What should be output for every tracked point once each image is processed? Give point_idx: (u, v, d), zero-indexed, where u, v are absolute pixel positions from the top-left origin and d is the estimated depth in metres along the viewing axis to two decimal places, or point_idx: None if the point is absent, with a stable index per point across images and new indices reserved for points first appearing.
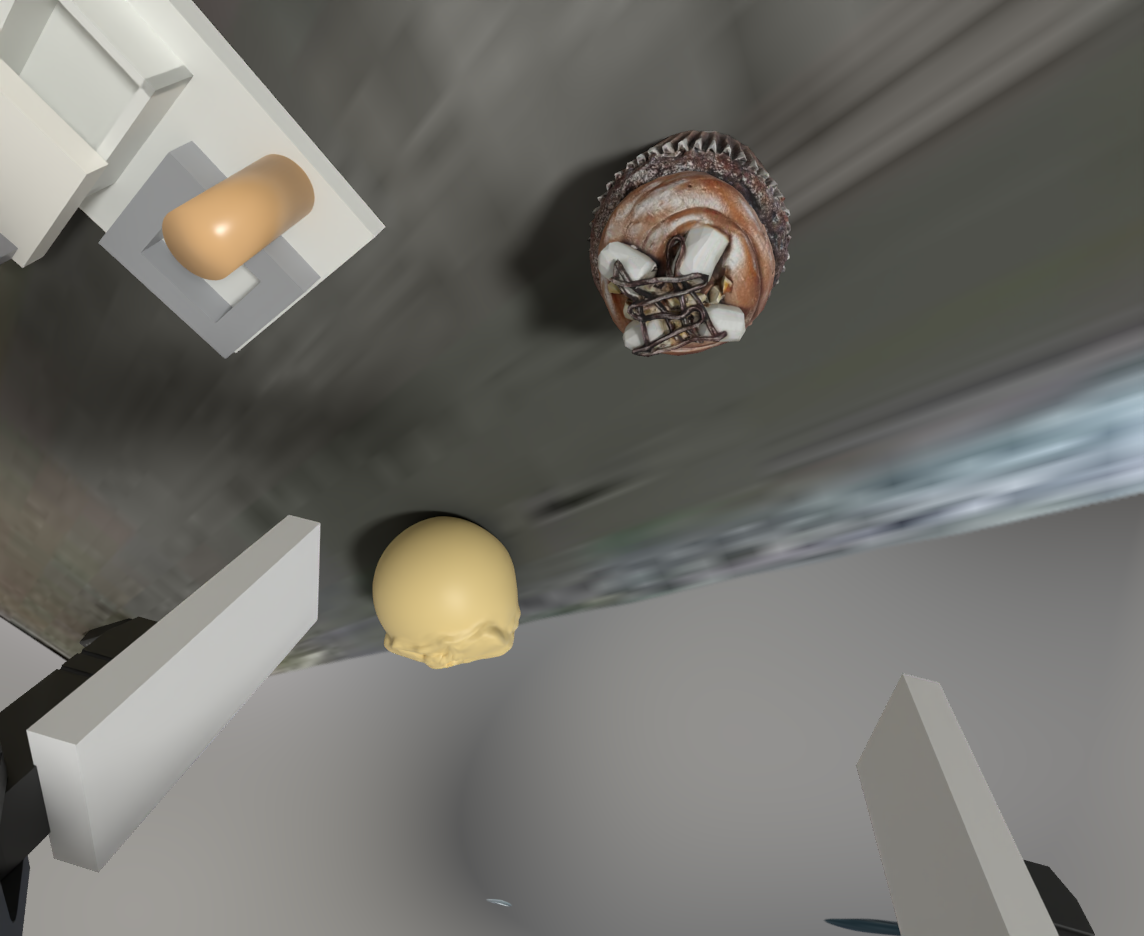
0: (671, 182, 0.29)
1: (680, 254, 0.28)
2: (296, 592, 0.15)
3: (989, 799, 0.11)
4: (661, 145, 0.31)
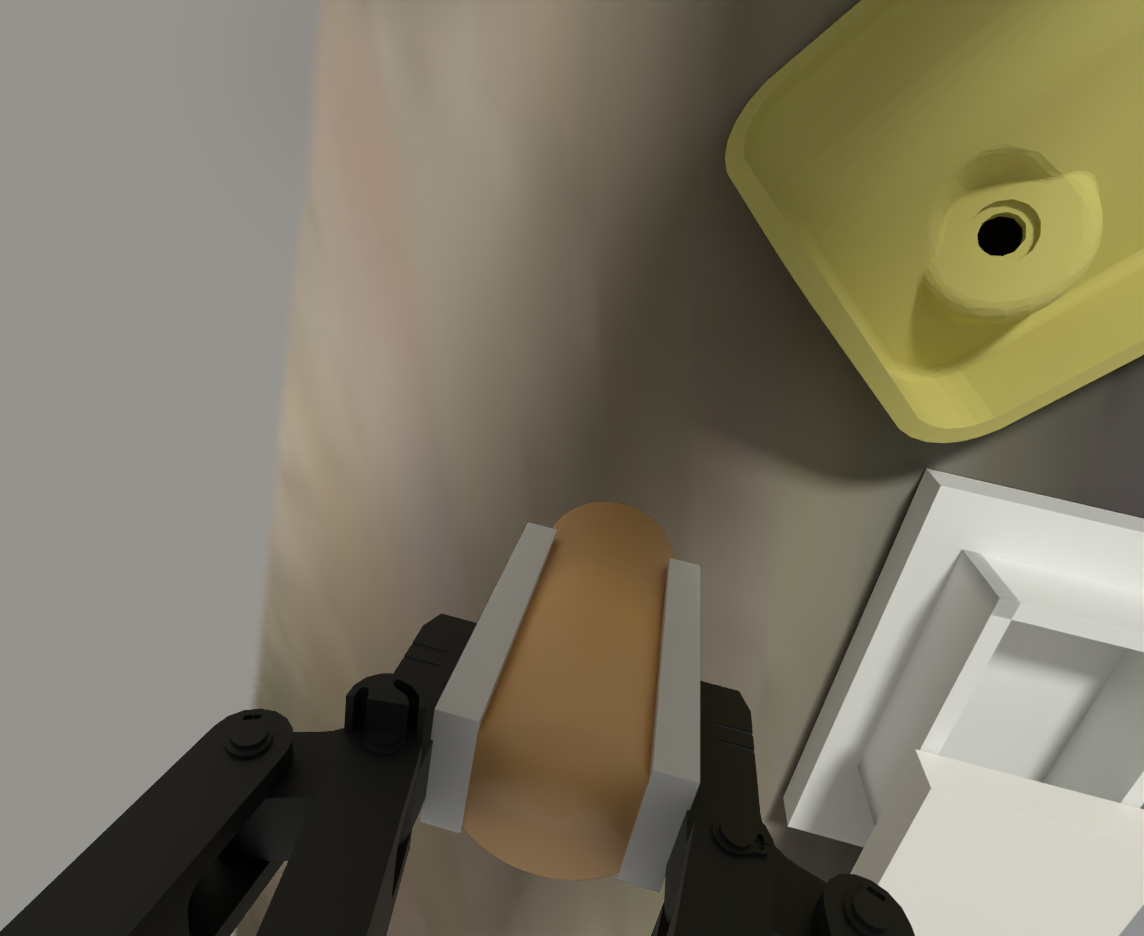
0: None
1: None
2: None
3: (696, 639, 0.14)
4: None
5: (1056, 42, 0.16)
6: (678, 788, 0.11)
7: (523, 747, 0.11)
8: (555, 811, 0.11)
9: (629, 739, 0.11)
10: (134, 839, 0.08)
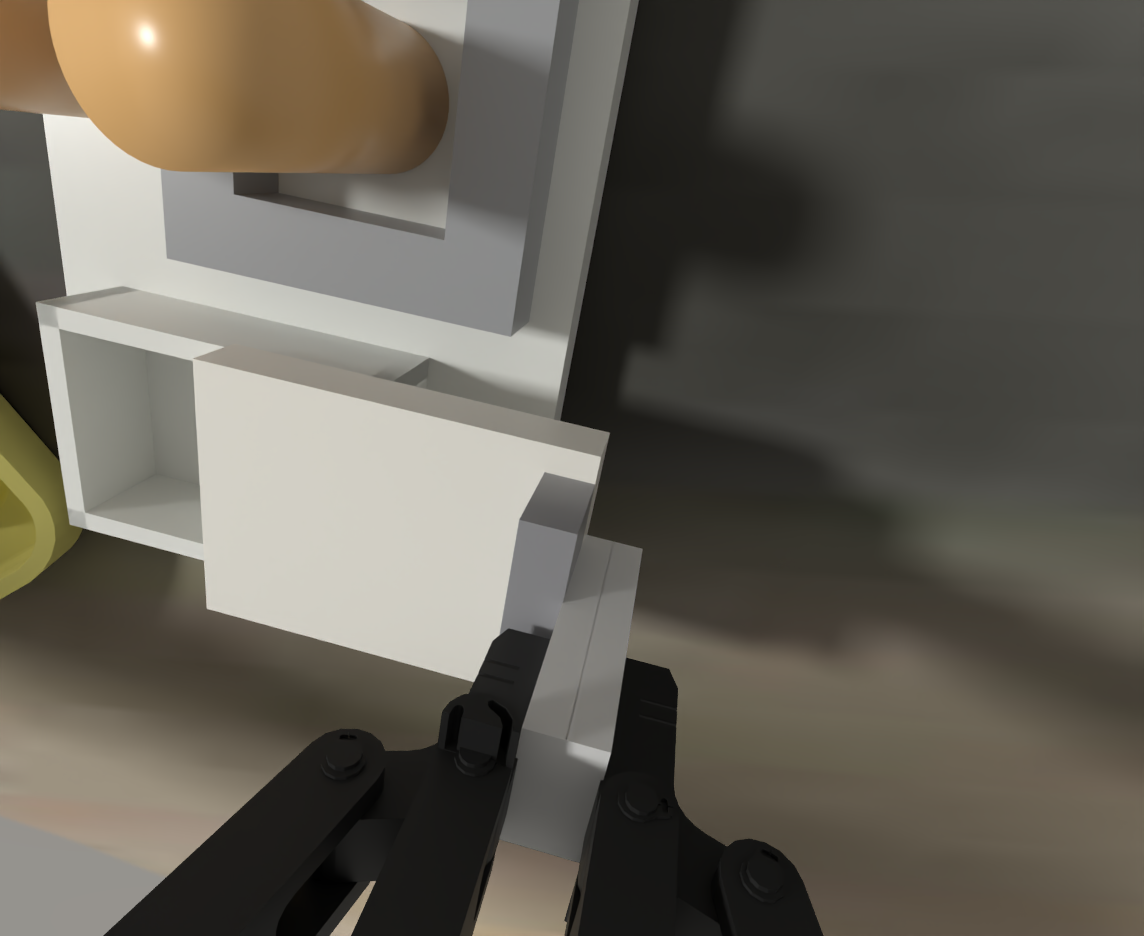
0: None
1: None
2: None
3: (627, 618, 0.14)
4: None
5: None
6: (590, 758, 0.11)
7: (97, 79, 0.11)
8: (162, 35, 0.10)
9: None
10: (232, 853, 0.08)
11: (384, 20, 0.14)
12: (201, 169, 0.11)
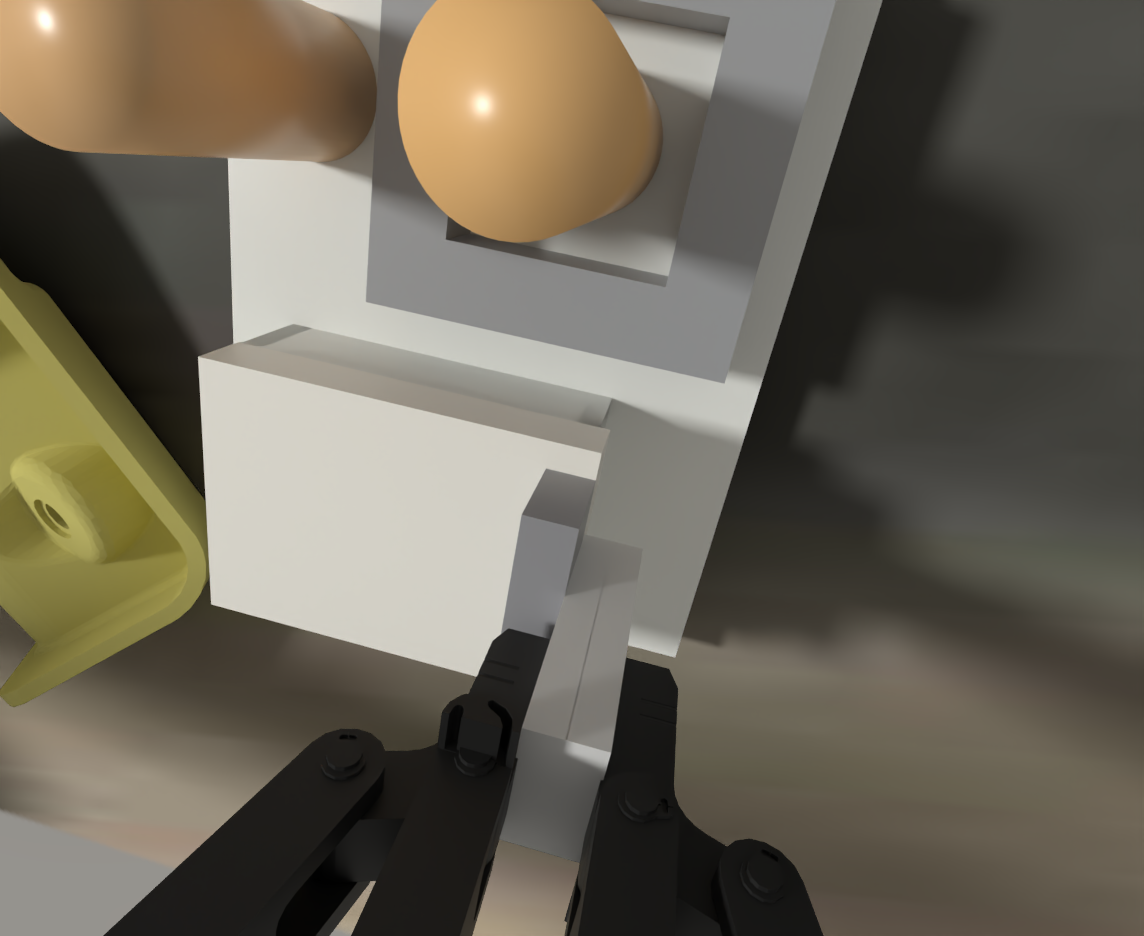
0: None
1: None
2: None
3: (628, 618, 0.14)
4: None
5: None
6: (591, 758, 0.11)
7: (440, 150, 0.10)
8: (521, 108, 0.10)
9: (428, 27, 0.10)
10: (232, 853, 0.08)
11: None
12: (536, 240, 0.11)
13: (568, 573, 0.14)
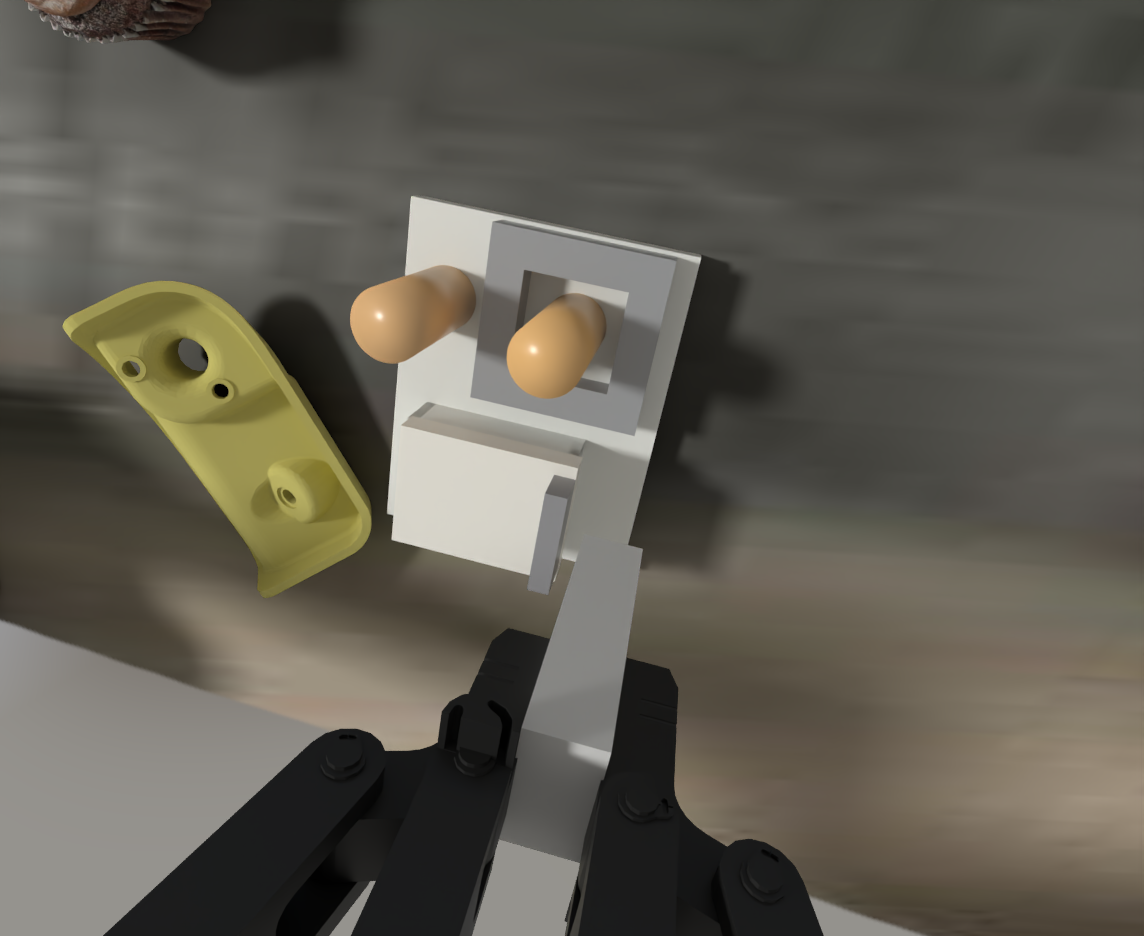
0: None
1: None
2: None
3: (628, 618, 0.14)
4: None
5: (216, 489, 0.44)
6: (591, 758, 0.11)
7: (520, 369, 0.31)
8: (547, 359, 0.31)
9: (517, 331, 0.31)
10: (231, 853, 0.08)
11: (592, 312, 0.35)
12: (552, 397, 0.31)
13: (563, 517, 0.35)
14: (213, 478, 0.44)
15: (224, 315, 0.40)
